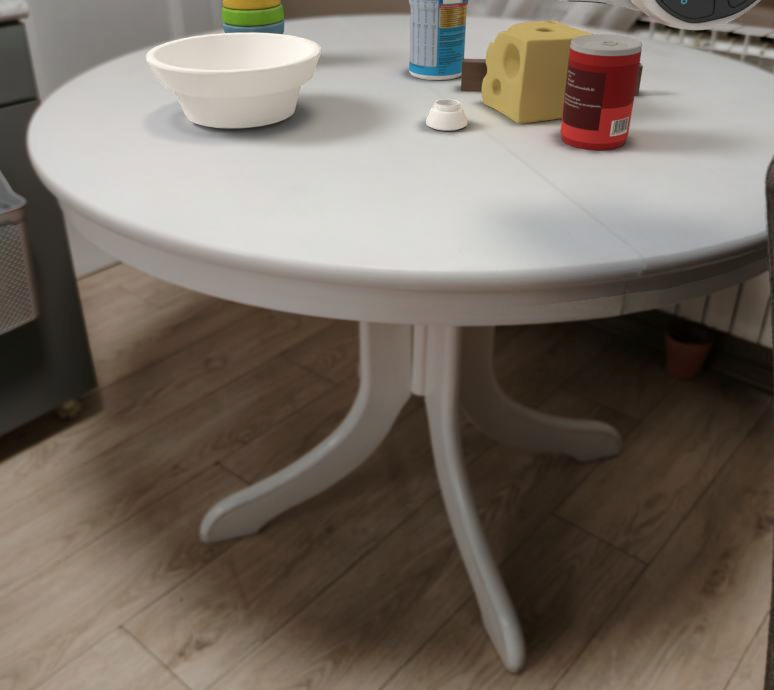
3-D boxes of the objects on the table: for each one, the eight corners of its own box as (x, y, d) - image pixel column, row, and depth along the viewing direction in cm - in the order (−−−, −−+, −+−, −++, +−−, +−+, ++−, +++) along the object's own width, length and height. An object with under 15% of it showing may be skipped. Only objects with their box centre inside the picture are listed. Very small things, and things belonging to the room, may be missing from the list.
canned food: (627, 132, 96) (642, 35, 90) (626, 154, 90) (643, 51, 84) (562, 127, 98) (572, 32, 92) (556, 148, 91) (568, 47, 85)
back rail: (636, 92, 111) (640, 62, 109) (638, 96, 109) (643, 66, 107) (461, 87, 113) (462, 58, 111) (460, 91, 112) (462, 61, 109)
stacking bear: (267, 74, 120) (256, -59, 110) (212, 67, 124) (196, -62, 114) (304, 59, 128) (297, -66, 118) (251, 53, 132) (240, -69, 122)
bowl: (346, 100, 108) (344, 36, 104) (288, 151, 91) (283, 77, 86) (203, 90, 113) (195, 28, 108) (123, 136, 96) (110, 65, 91)
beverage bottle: (402, 80, 117) (403, -75, 106) (414, 66, 124) (416, -81, 113) (459, 83, 115) (466, -74, 104) (469, 69, 122) (476, -80, 111)
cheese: (480, 104, 106) (484, 24, 101) (551, 95, 109) (559, 17, 104) (517, 126, 98) (525, 41, 93) (593, 117, 101) (605, 33, 96)
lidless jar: (474, 130, 97) (456, 118, 101) (475, 105, 95) (457, 94, 99) (436, 135, 96) (419, 123, 99) (436, 110, 94) (420, 99, 98)
